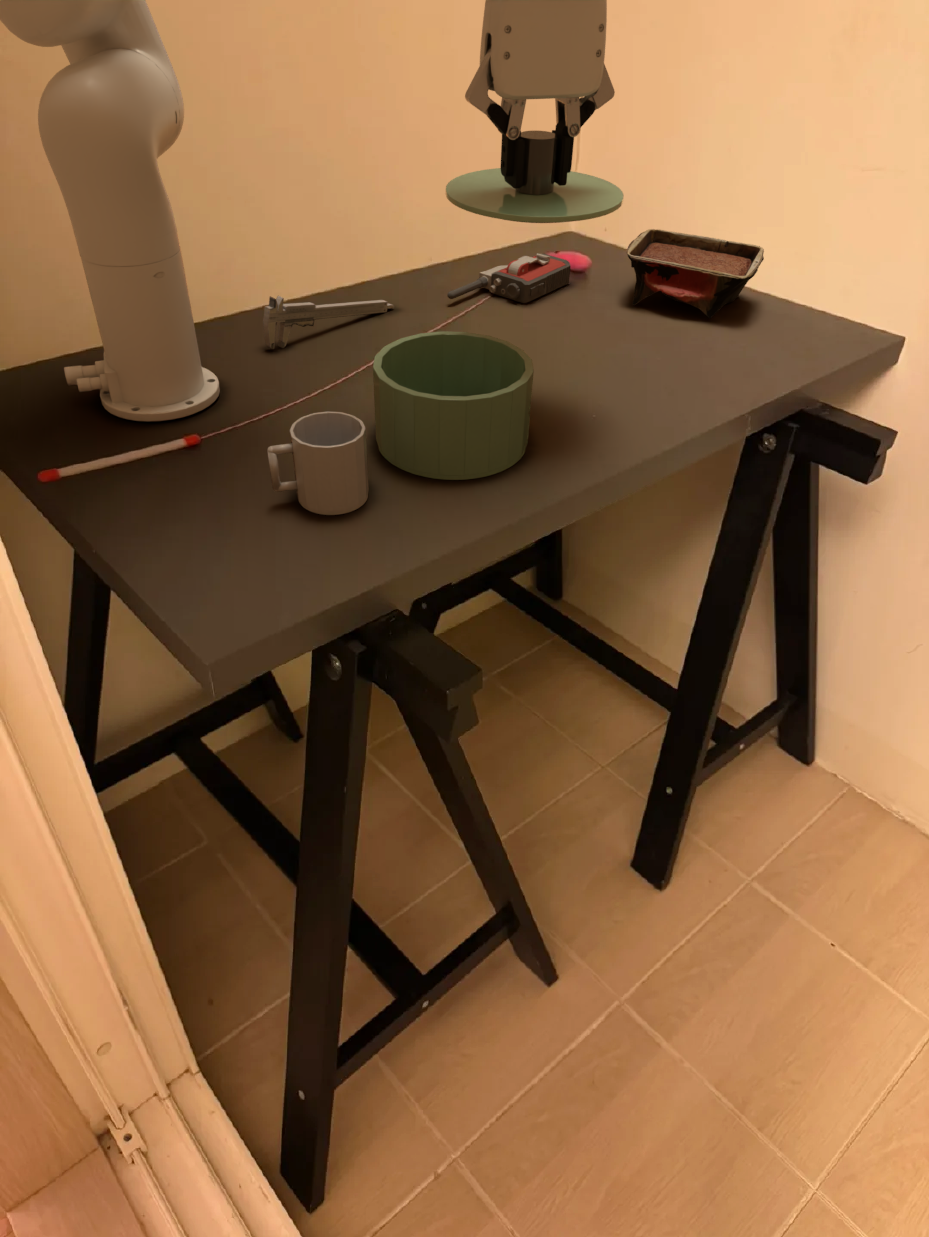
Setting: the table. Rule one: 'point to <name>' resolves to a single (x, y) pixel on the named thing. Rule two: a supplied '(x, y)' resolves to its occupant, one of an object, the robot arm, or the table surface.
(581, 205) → the pot lid
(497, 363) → the pot
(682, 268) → the baking dish
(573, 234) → the table surface
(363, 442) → the mug
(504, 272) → the walkie-talkie
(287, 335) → the caliper
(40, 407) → the table surface
